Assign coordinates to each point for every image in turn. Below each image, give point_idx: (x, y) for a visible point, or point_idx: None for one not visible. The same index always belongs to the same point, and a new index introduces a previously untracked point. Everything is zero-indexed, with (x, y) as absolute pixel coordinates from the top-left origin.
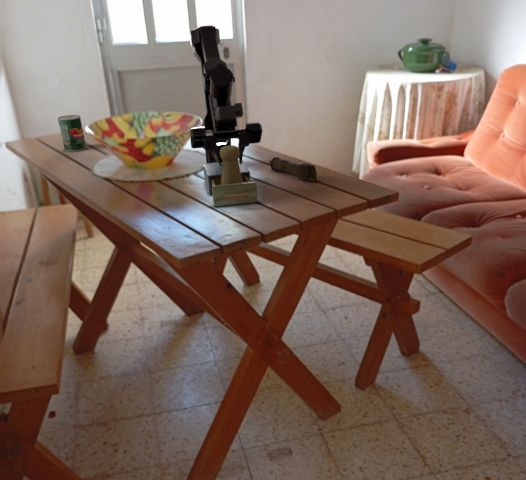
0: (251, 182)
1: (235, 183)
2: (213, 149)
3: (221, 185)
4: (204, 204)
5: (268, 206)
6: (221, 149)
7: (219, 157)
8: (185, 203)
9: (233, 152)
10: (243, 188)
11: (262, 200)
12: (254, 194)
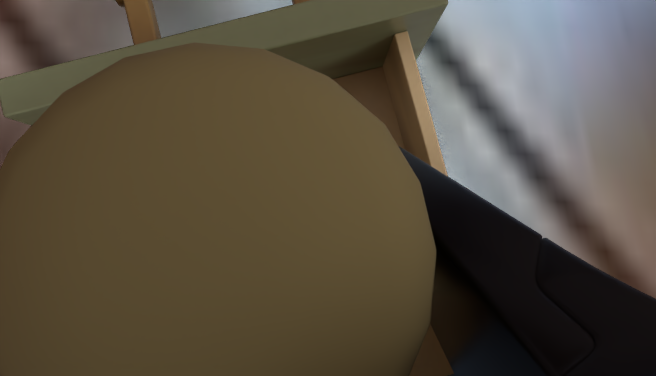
0: (48, 78)
1: None
2: (607, 281)
3: (350, 1)
4: (488, 112)
5: (9, 46)
6: (391, 172)
7: (423, 190)
8: (637, 142)
9: (97, 74)
10: None
11: None
12: None
